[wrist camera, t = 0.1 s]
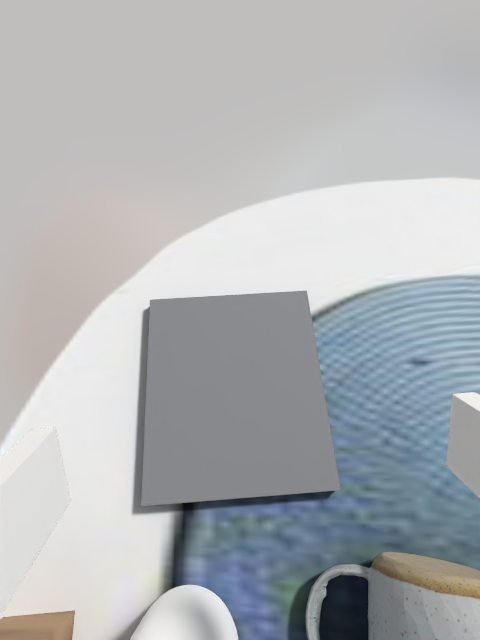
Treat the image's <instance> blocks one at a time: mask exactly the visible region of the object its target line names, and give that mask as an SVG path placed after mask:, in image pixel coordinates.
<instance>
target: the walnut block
mask: <svg viewBox="0 0 480 640" xmlns="http://www.w3.org/2000/svg"><path fill="white" fill-rule="evenodd" d="M74 615H75V611H67V612H56V613H45V614H34V615H23V616H12V617H3V618H2V619H0V640H72V634H73V624H74Z"/></svg>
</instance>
